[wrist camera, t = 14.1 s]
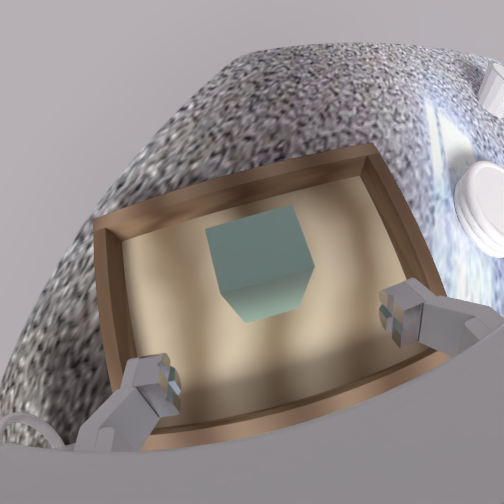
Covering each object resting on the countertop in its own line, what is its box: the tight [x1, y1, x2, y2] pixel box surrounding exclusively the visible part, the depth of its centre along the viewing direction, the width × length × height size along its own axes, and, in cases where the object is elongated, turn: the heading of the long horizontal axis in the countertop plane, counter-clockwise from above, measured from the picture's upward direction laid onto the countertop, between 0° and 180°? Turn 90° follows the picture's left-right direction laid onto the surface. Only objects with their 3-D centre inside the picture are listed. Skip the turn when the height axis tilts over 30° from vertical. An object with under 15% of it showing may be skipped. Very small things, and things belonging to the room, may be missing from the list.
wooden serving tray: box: [93, 143, 453, 451], centre depth 21 cm, size 24×18×4 cm
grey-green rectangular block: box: [205, 205, 315, 323], centre depth 17 cm, size 4×3×10 cm
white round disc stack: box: [454, 160, 504, 258], centre depth 22 cm, size 10×10×4 cm
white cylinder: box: [477, 61, 504, 118], centre depth 26 cm, size 7×7×7 cm
